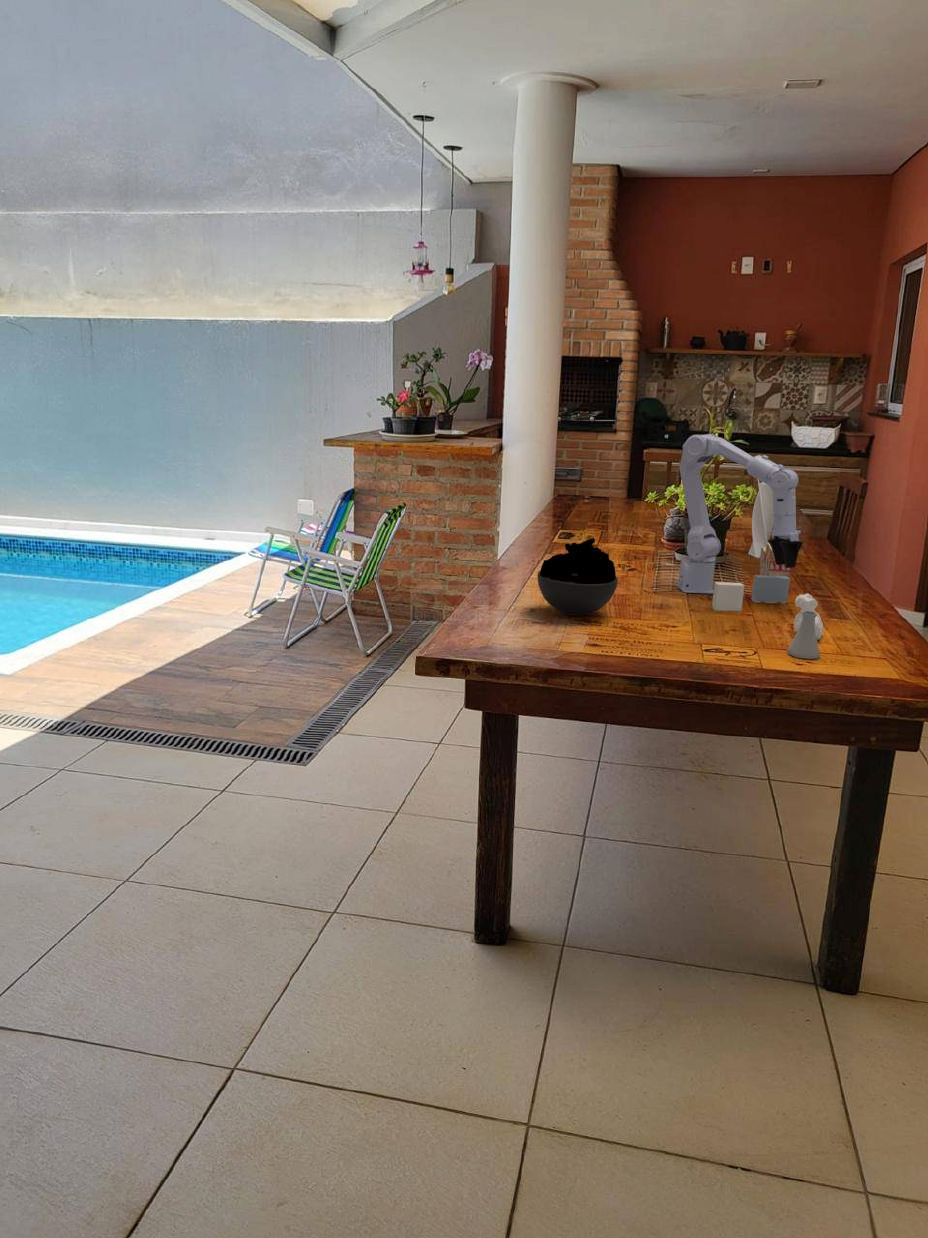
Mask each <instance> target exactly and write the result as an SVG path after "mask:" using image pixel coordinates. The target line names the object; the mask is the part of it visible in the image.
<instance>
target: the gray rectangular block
mask: <svg viewBox="0 0 928 1238" xmlns="http://www.w3.org/2000/svg"><path fill="white" fill-rule="evenodd" d="M790 585H791V577H790V578H788V577H787V576H765V575H759V574H754V576H753V584H752V590H751V597H750V600H751V601H752V602H753V603H764V604H768V603H769V604H786V603H787V604H788V597H789V591H790Z"/></svg>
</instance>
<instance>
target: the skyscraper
mask: <svg viewBox="0 0 928 1238" xmlns="http://www.w3.org/2000/svg"><path fill="white" fill-rule="evenodd" d="M756 481H757V485H758V492H757V495H756V497H755V501H754V505H753V509H752V516H751V517H752V518H751V532H752V543H751V546H750V549H749V550H748V553H747V555H748V554H749V555H748V556H750V555H751V556H750V557H752V556H753V558H755V557H756V559H758V560H760V559H761V548H762V547H766V543H769V542H768V540H769V539H770V536H772V530H773V529H774V526H773V491H772V490H771V488H770V486H769V485H767V484H766V483H764V482H762V481H761V482H760V480H758V479H757V478H756ZM773 538H774V537H772V539H773Z"/></svg>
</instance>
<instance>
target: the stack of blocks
mask: <svg viewBox="0 0 928 1238" xmlns="http://www.w3.org/2000/svg"><path fill="white" fill-rule="evenodd" d="M759 560H760V561H759V571H758V575H765V576H787V577H788V578H790V579H791V577H790V576H791V571H792V568H786V565H785V564H784V565H776V562H775V558H774V554H773V550H772V548H771V546H770V544H769V542H767V543H766V547H762V548H761V559H759Z"/></svg>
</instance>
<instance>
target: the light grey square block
mask: <svg viewBox="0 0 928 1238" xmlns="http://www.w3.org/2000/svg"><path fill="white" fill-rule="evenodd" d="M713 585H714V586H713V590H714V594H713V596H712V602H711V604H712V606H711V609H713V610H714V611H719V612H721V611H722V612H729V611H730V612H742V608H743V600H744V594H745V593H744V592H745V584H743V583H741V582H723V581H722V582H721V581H715V582H714V584H713Z"/></svg>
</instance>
